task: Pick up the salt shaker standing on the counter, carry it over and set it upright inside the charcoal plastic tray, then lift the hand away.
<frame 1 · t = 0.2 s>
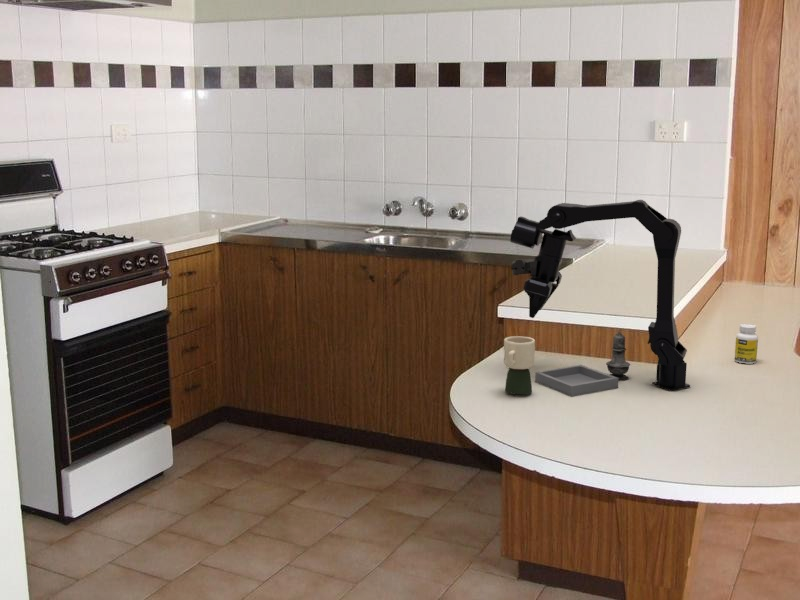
hand: (534, 313, 232), 15 cm above the countertop, tool pointing down, fingers open, 9 cm apart
charcoal tray: (576, 385, 224), on the countertop
character mug: (518, 394, 218), on the countertop
supplement bottle: (745, 362, 244), on the countertop
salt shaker: (617, 378, 230), on the countertop
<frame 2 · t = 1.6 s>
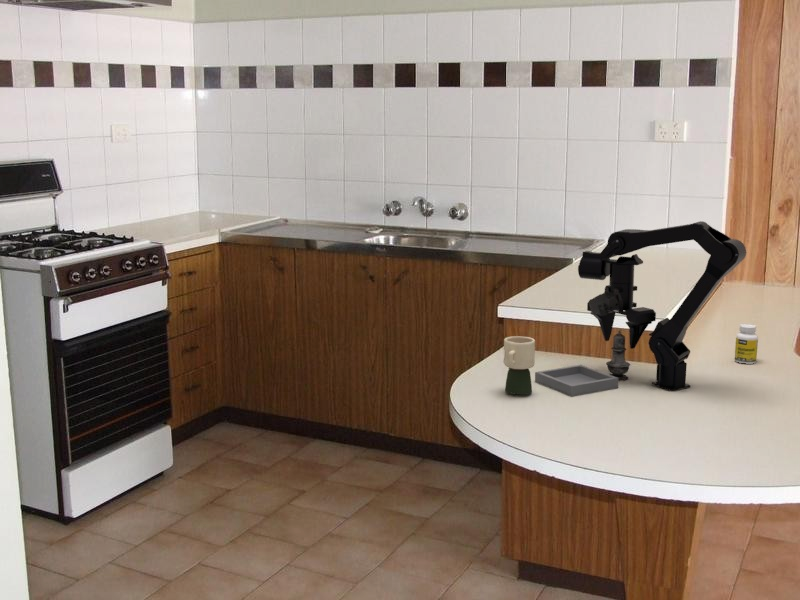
hand: (619, 344, 228), 8 cm above the countertop, tool pointing down, fingers open, 9 cm apart
nothing on the countertop moved.
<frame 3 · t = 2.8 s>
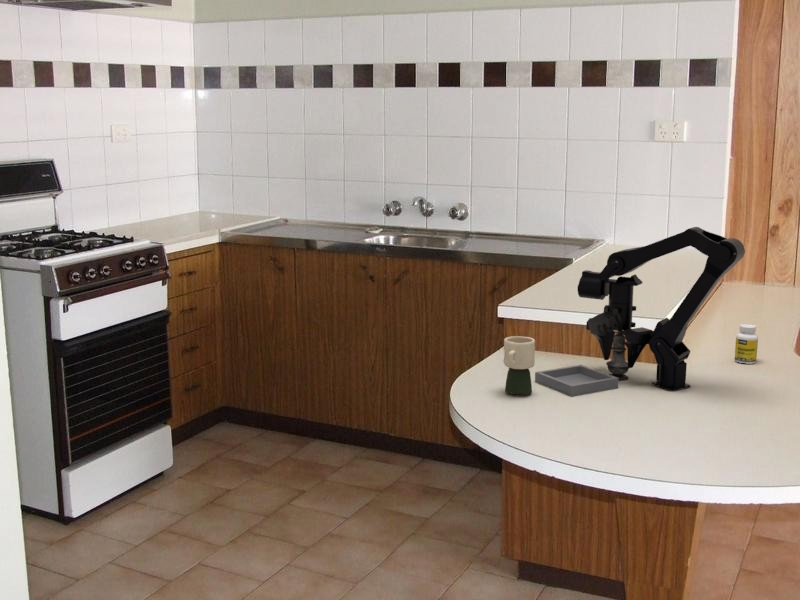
hand: (618, 363, 229), 4 cm above the countertop, tool pointing down, fingers closed on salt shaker, 8 cm apart
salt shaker: (617, 378, 230), on the countertop, touching gripper
everything else where it was.
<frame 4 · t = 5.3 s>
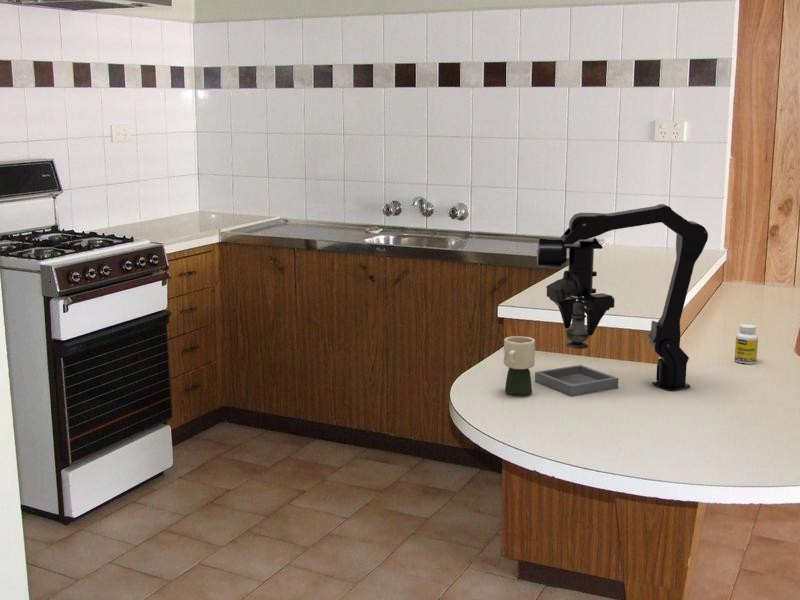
hand: (578, 331, 222), 13 cm above the countertop, tool pointing down, fingers closed on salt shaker, 8 cm apart
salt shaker: (577, 346, 223), point 9 cm above the countertop, touching gripper
everything else where it was.
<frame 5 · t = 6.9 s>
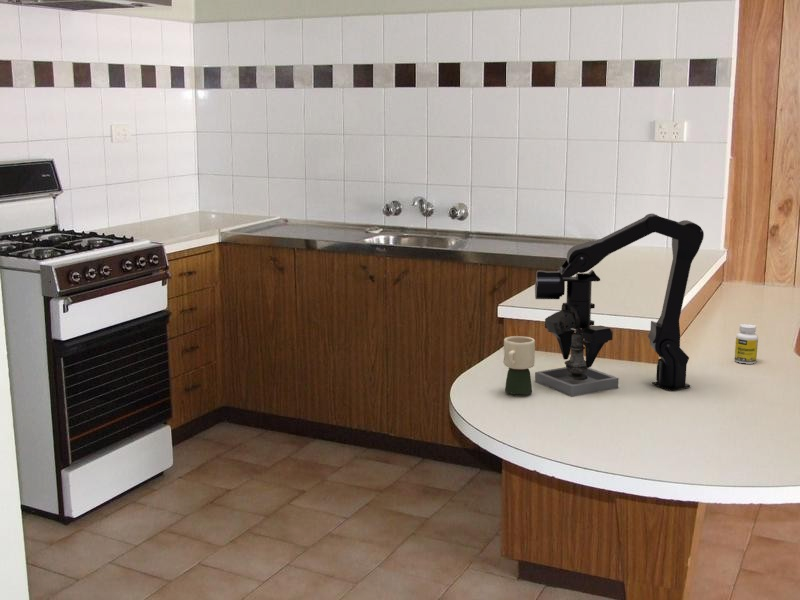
hand: (577, 363, 223), 5 cm above the countertop, tool pointing down, fingers closed on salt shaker, 8 cm apart
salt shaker: (576, 378, 224), point 2 cm above the countertop, touching gripper
everything else where it was.
when the fingers open (5 cm above the countertop, at t = 8.2 s): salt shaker drops 1 cm, resting on charcoal tray.
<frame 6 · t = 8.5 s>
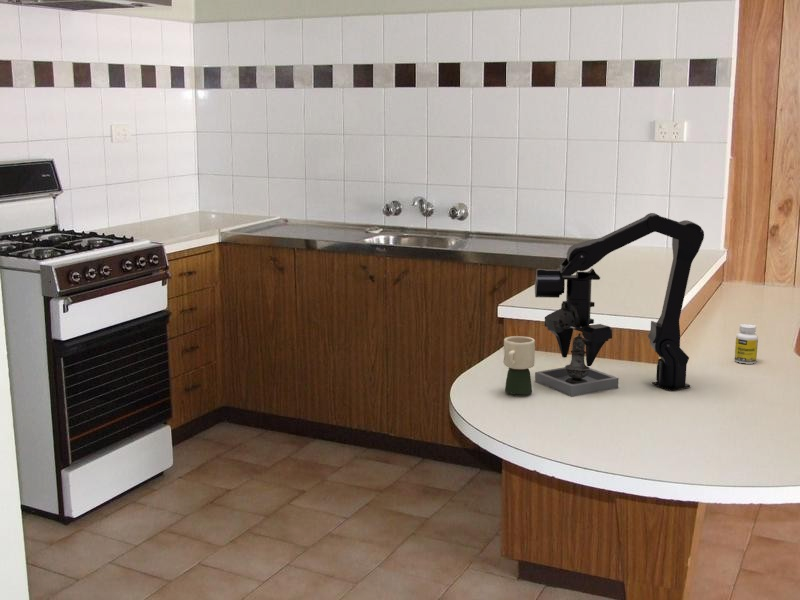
hand: (576, 361, 223), 6 cm above the countertop, tool pointing down, fingers open, 9 cm apart
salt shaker: (576, 382, 224), point 1 cm above the countertop, touching charcoal tray
everything else where it was.
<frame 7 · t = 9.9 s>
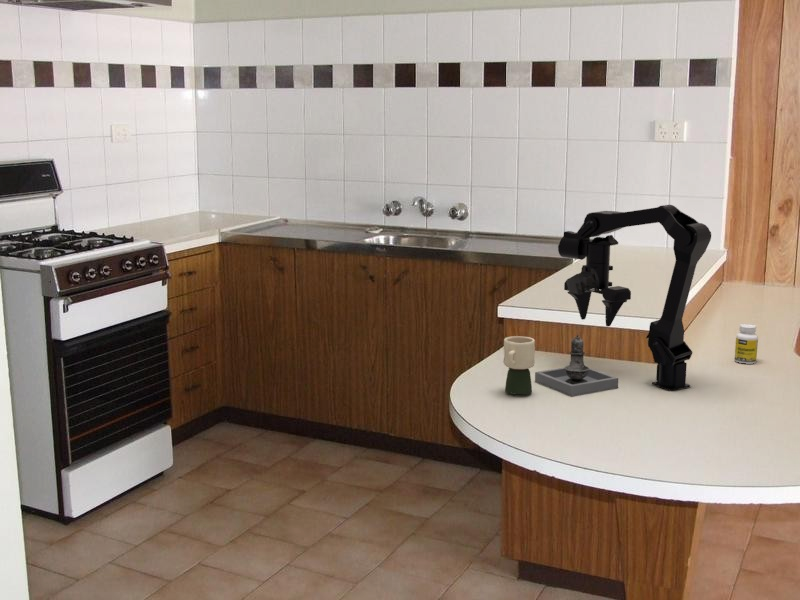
hand: (595, 322, 235), 12 cm above the countertop, tool pointing down, fingers open, 9 cm apart
nothing on the countertop moved.
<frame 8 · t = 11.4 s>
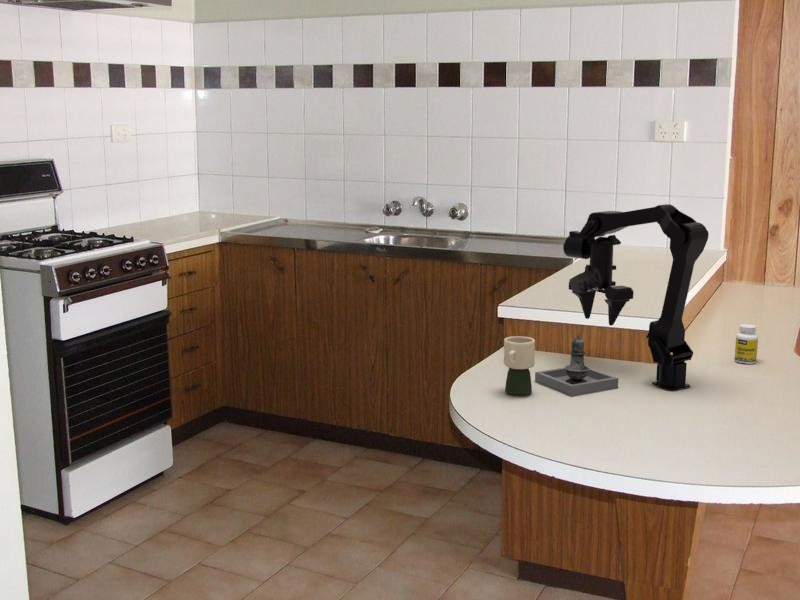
hand: (599, 321, 237), 12 cm above the countertop, tool pointing down, fingers open, 9 cm apart
nothing on the countertop moved.
at the end: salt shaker inside the target area on the charcoal tray (0.2 cm from its centre), point 0.4 cm above the charcoal tray's base; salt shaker tilted 1°; the gripper is holding nothing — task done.
